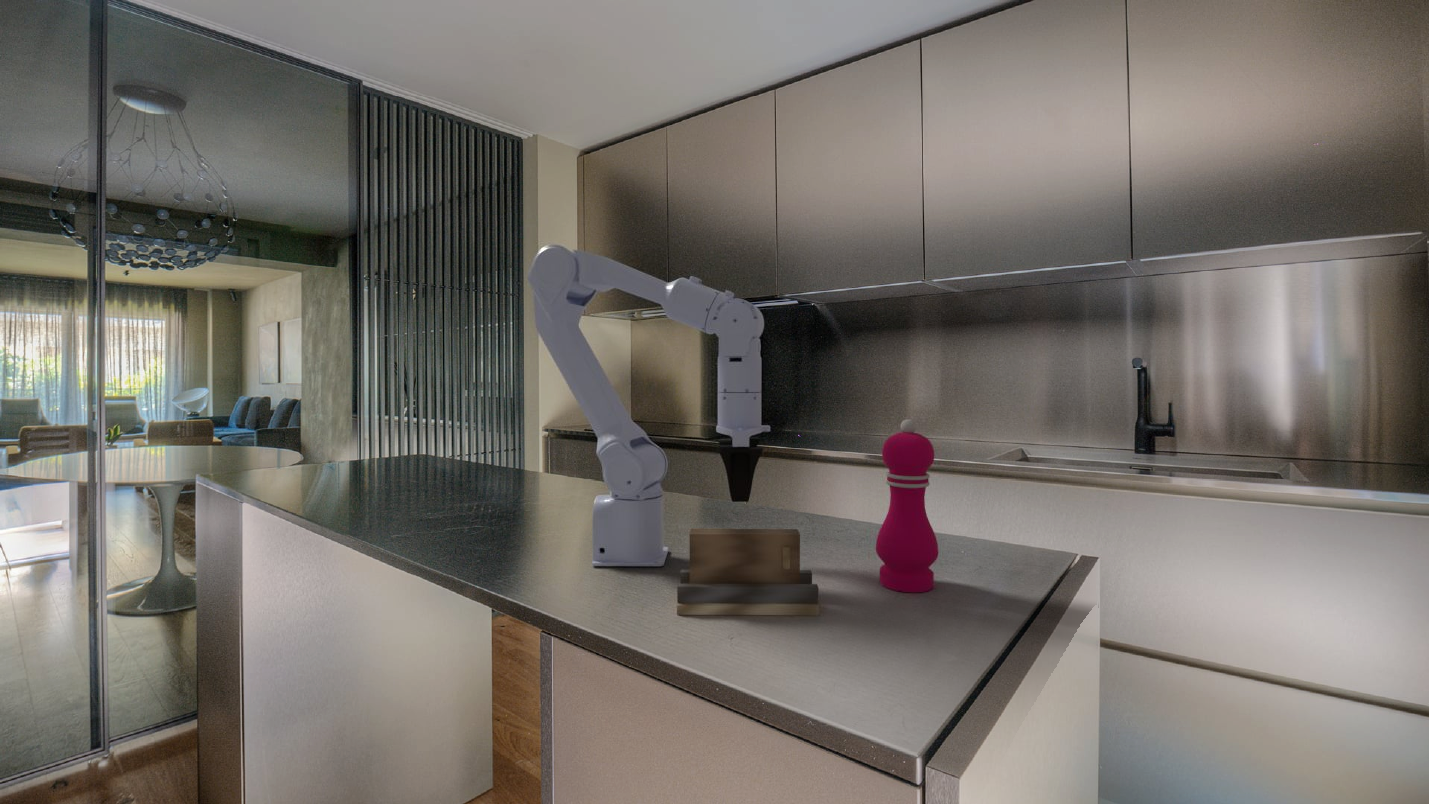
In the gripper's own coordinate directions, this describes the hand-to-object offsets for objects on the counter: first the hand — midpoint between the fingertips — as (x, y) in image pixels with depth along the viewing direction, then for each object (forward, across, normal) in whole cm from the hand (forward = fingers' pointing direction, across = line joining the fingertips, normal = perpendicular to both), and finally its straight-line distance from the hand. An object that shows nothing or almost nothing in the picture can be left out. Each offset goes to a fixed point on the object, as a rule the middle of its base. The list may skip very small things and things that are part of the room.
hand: (739, 495), depth 83 cm
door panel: (+8, -14, 0) cm, 16 cm away
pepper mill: (+10, -7, -20) cm, 23 cm away
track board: (+9, -14, 0) cm, 16 cm away
